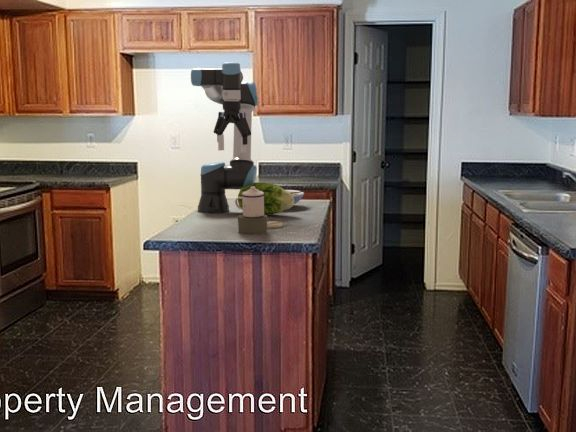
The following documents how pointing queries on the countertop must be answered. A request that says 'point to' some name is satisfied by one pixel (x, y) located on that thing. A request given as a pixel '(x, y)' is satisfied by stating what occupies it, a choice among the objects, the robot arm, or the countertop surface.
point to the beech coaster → (274, 224)
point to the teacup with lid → (252, 202)
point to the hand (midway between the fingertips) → (232, 151)
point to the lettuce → (271, 197)
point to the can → (252, 225)
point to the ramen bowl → (296, 195)
